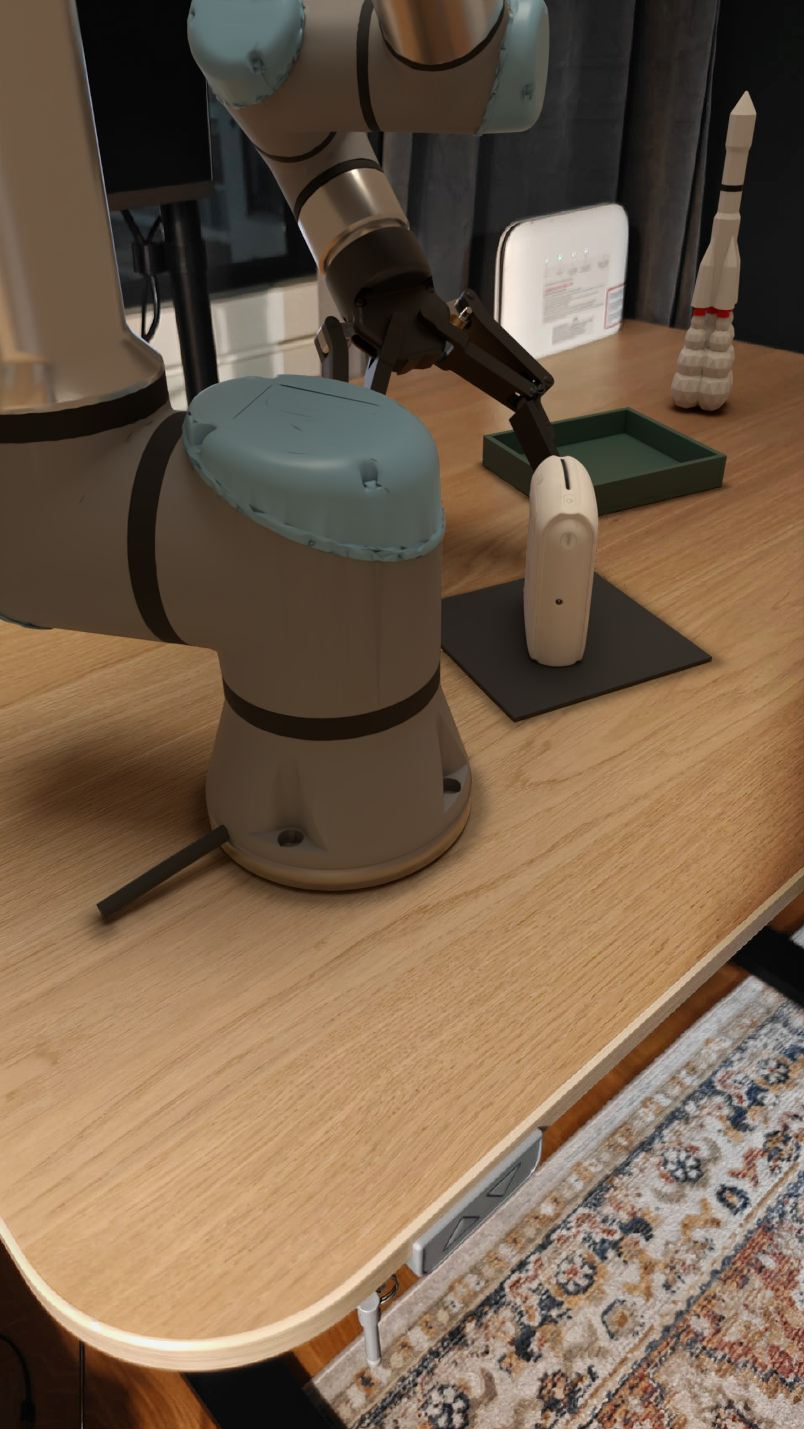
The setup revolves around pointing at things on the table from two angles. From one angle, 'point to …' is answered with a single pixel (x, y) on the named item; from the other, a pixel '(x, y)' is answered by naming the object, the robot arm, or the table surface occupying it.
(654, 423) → the tray
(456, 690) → the table surface
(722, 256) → the rocket model
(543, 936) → the table surface
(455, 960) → the table surface
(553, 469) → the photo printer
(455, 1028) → the table surface
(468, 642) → the mat
